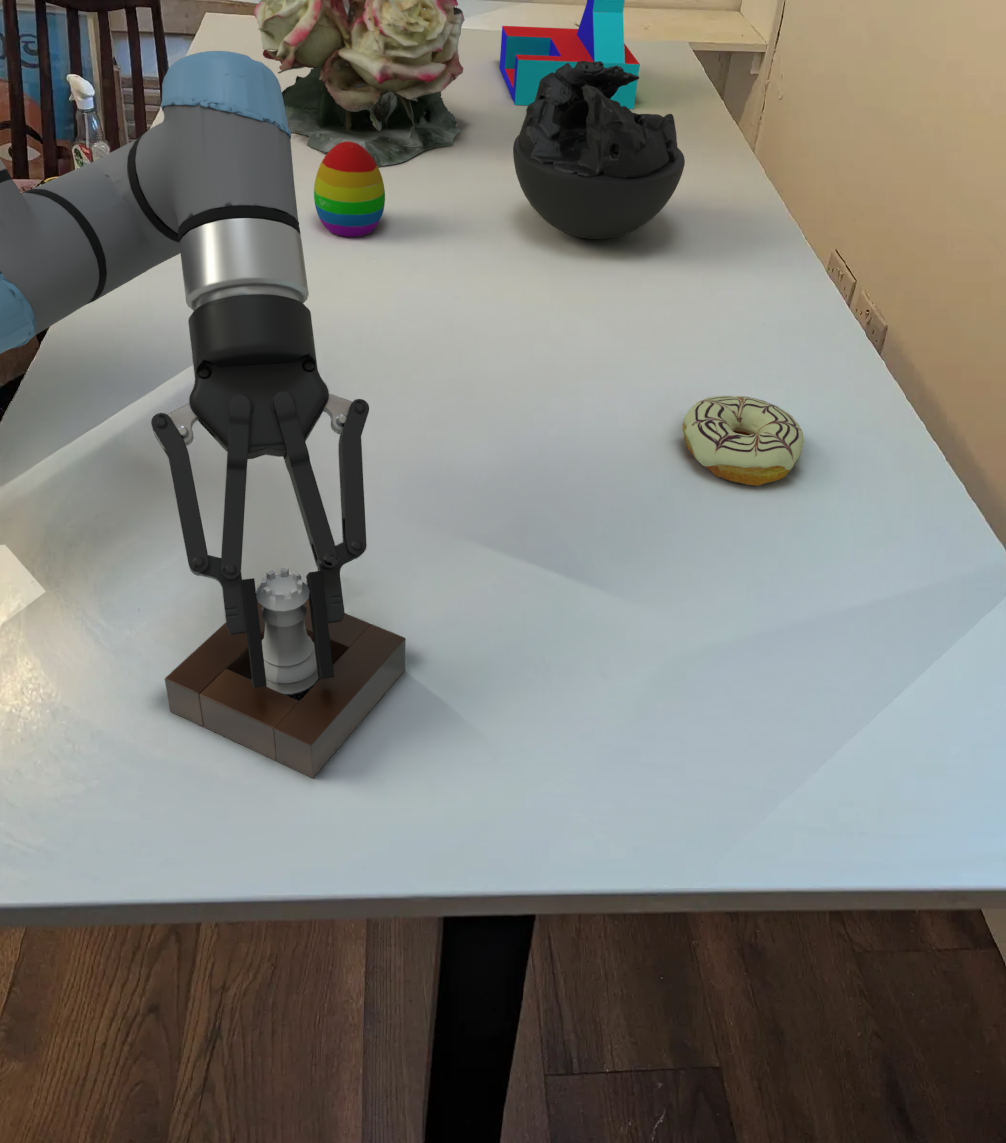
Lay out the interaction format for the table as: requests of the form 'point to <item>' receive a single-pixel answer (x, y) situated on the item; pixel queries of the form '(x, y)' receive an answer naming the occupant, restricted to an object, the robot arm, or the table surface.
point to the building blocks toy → (567, 51)
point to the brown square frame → (276, 721)
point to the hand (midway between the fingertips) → (293, 681)
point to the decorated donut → (743, 439)
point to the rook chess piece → (286, 633)
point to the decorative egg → (349, 191)
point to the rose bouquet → (367, 71)
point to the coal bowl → (594, 154)
